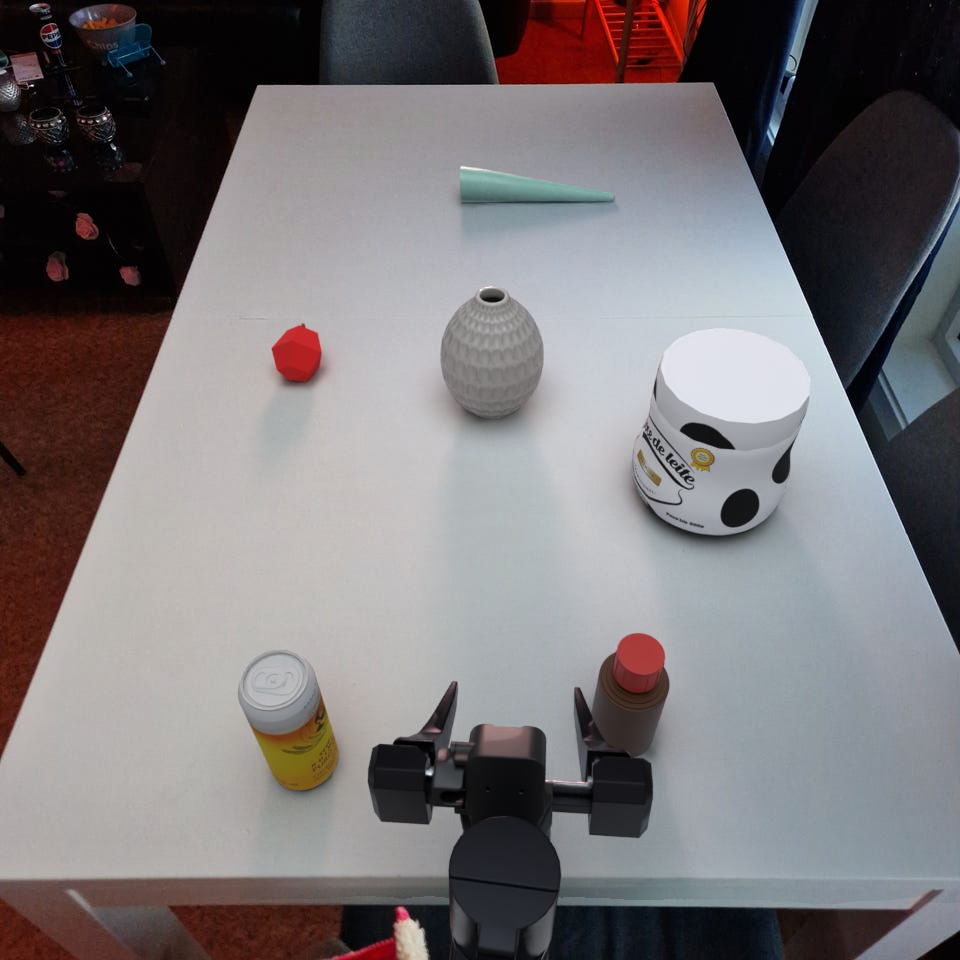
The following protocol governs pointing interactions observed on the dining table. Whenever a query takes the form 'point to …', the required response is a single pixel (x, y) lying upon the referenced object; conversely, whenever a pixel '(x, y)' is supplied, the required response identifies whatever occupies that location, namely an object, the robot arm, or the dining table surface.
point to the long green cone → (519, 188)
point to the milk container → (720, 431)
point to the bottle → (627, 710)
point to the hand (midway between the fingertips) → (515, 687)
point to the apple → (297, 353)
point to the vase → (492, 354)
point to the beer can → (288, 718)
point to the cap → (638, 662)
